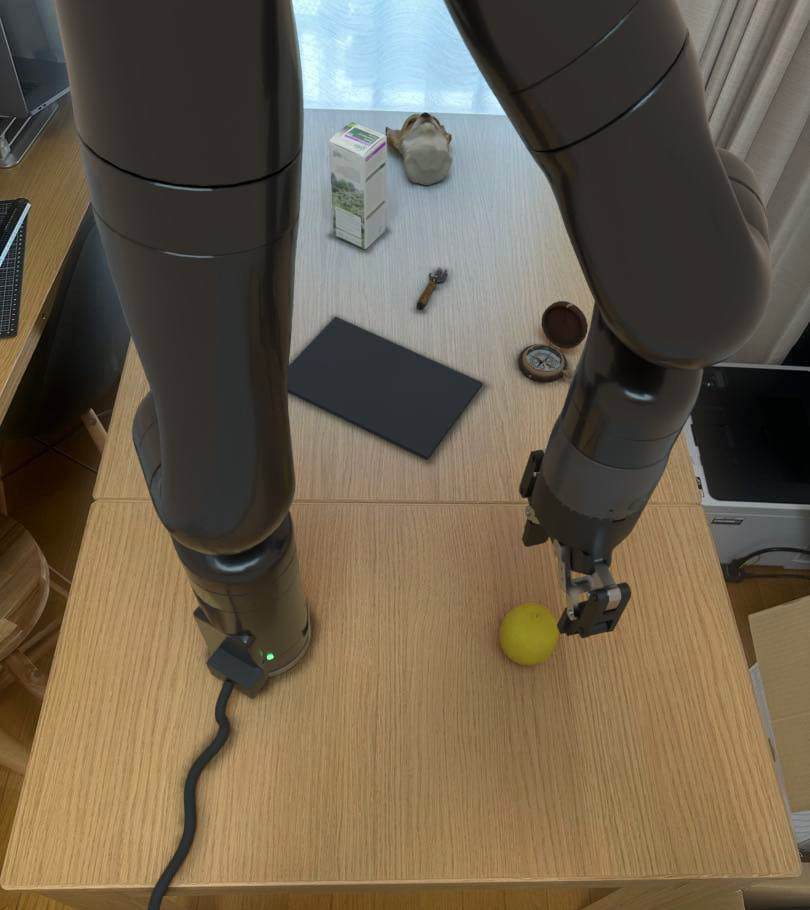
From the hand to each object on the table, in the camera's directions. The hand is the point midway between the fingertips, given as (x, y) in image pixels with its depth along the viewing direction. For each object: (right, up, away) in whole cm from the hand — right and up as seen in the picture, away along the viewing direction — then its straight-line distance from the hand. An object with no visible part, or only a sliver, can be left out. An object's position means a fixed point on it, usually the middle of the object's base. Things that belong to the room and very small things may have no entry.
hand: (551, 583), depth 63 cm
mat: (-16, +23, +30) cm, 41 cm away
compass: (+6, +26, +33) cm, 43 cm away
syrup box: (-19, +48, +45) cm, 69 cm away
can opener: (-9, +38, +39) cm, 55 cm away
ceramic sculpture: (-10, +63, +55) cm, 85 cm away
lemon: (-1, -8, +12) cm, 14 cm away
